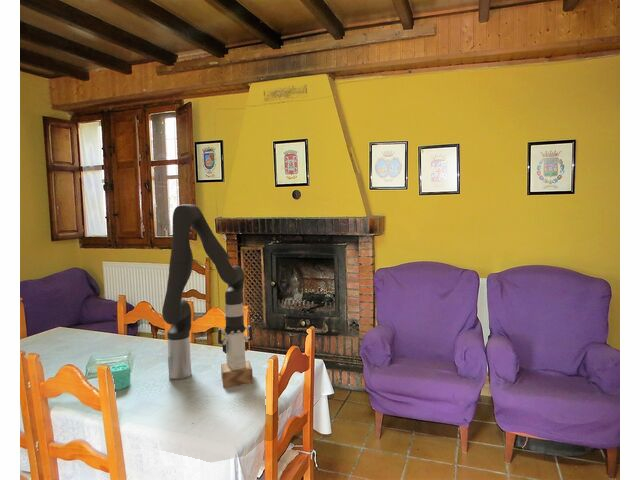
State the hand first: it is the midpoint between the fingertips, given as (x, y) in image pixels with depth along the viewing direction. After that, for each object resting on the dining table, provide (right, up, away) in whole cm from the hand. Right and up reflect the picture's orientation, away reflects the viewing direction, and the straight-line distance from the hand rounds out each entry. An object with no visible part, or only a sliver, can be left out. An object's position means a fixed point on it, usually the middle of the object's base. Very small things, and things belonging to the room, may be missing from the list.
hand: (235, 351), depth 176 cm
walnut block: (0, -13, +1) cm, 13 cm away
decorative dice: (-48, -14, -2) cm, 50 cm away
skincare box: (0, -7, 0) cm, 7 cm away
